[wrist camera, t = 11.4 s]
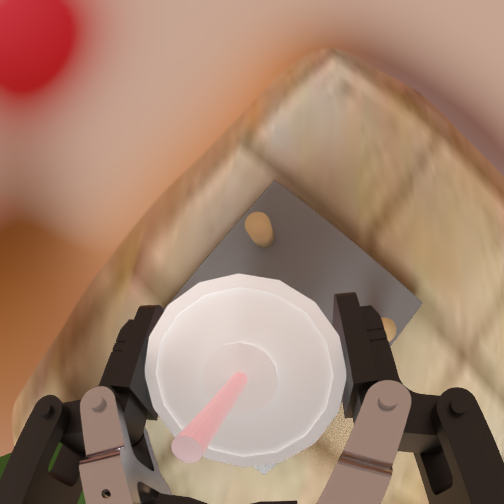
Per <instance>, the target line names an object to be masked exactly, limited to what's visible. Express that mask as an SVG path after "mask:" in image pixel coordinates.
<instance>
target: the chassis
mask: <svg viewBox="0 0 504 504" xmlns="http://www.w3.org/2000/svg"><path fill="white" fill-rule="evenodd" d="M238 273H239V274H245V275H251V276H257V277H263V278H269V279H275V280H280V281H282V282H283V283H285V284H287V285H288V286H290V287H291V288H293V289H295V290H296V291H298V292H300V293H301V294H303V295H304V296H306V297H308V298H309V299H311V300H313V301H314V302H315V303H316V304H317V305H318V307H319V308H320V310H321V311H322V312H323V314H324V315H325V317H326V318H327V319H328V321H329V322H330V324H331V325H332V321H333V303H334V294H338V293H348V292H356V294H357V297H358V301H359V304H360V306H368V305H371V306H372V307H373V308H374V309H375V310H376V311H377V312H378V313H379V314H380V316H381V319H382V322H383V325H384V330H385V332H386V335H387V340H388V341H389V345H390V346H391V345H392V343H393V342H394V341H395V340H396V338H397V337H398V336H399V334H400V333H401V332H402V330H403V329H404V328H405V326H406V325H407V324H408V322H409V321H410V320H411V318H412V317H413V316H414V314H415V313H416V311H417V310H418V309H419V307H420V306H421V304H422V302H421V301H420V300H419V299H418V298H417V297H416V296H415V295H414V294H413V293H411V292H410V291H409V290H408V289H407V288H406V287H405V286H404V285H403V284H401V283H400V282H399V281H398V280H397V279H396V278H395V277H394V276H392V275H391V274H390V273H389V272H388V271H387V270H386V269H384V268H383V267H382V266H381V265H380V264H379V263H378V262H376V261H375V260H374V259H373V258H372V257H371V256H369V255H368V254H367V253H366V252H365V251H363V250H362V249H361V248H360V247H359V246H357V245H356V244H355V243H354V242H353V241H351V240H350V239H349V238H348V237H347V236H345V235H344V234H343V233H342V232H341V231H339V230H338V229H337V228H336V227H334V226H333V225H332V224H331V223H329V222H328V221H327V220H326V219H324V218H323V217H322V216H321V215H319V214H318V213H317V212H316V211H314V210H313V209H312V208H311V207H309V206H308V205H307V204H305V203H304V202H303V201H302V200H300V199H299V198H298V197H296V196H295V195H294V194H293V193H291V192H290V191H289V190H287V189H286V188H285V187H283V186H282V185H281V184H279V183H278V182H277V181H275V180H274V181H273V182H272V184H271V185H270V186H269V187H268V188H267V189H266V190H265V191H264V193H263V194H262V195H261V196H260V197H259V198H258V199H257V200H256V202H255V203H254V204H253V205H252V206H251V207H250V208H249V210H248V211H247V212H246V213H245V214H244V215H243V216H242V218H241V219H240V220H239V221H238V222H237V223H236V224H235V226H234V227H233V228H232V229H231V230H230V231H229V233H228V234H227V235H226V236H225V237H224V238H223V240H222V241H221V242H220V243H219V244H218V245H217V247H216V248H215V249H214V250H213V251H212V252H211V254H210V255H209V256H208V257H207V258H206V259H205V261H204V262H203V263H202V264H201V265H200V266H199V268H198V269H197V270H196V271H195V272H194V274H193V275H192V276H191V277H190V278H189V279H188V281H187V282H186V283H185V284H184V285H183V287H182V288H181V289H180V290H179V291H178V293H177V294H176V295H175V296H174V297H173V299H172V300H171V301H170V302H169V303H168V305H169V304H170V303H171V302H173V301H174V300H176V299H177V298H178V297H180V296H181V295H183V294H184V293H185V292H187V291H188V290H189V289H191V288H192V287H194V286H195V285H196V284H198V283H199V282H203V281H208V280H212V279H216V278H221V277H225V276H229V275H234V274H238ZM168 305H167V306H168ZM167 306H166V307H165V308H164V311H165V309H166V308H167ZM342 401H343V400H342V399H341V402H342ZM276 464H277V463H272V464H265V465H258V466H253V467H254V468H256V469H257V470H258V471H260V472H261V473H263V474H265V473H267V472H268V471H269V470H270V469H272V468H273V467H274V466H275V465H276Z"/></svg>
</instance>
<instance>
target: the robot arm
mask: <svg viewBox="0 0 504 504" xmlns="http://www.w3.org/2000/svg"><path fill="white" fill-rule="evenodd" d="M163 313H164V310H163V308H162V307H161V306H160V305H147V306H140V307H139V309H138V311H137V313H136V316H135V318H134V320H128V322H127V323H126V324H125V325H124V326H123V327H122V329H121V330H120V332H119V335H118V337H117V340H116V343H115V345H114V347H113V352H111V355H110V357H109V360H108V363H107V365H106V368H105V371H104V373H103V376H102V379H101V381H100V384H99V386H98V387H94V388H92V389H90V390H89V391H87V392H86V393H85V395H84V396H83V398H82V400H77V401H72V402H66V403H63V402H62V401H61V400H60V399H59V398H57V397H56V396H54V395H47V396H44V397H42V398H41V399H40V400H39V401H38V402H37V403H36V405H35V407H34V409H33V410H32V412H31V414H30V416H29V418H28V420H27V422H26V424H25V426H24V428H23V430H22V432H21V434H20V436H19V438H18V441H17V443H16V445H15V447H14V449H13V451H12V454H11V456H10V458H9V460H8V462H7V465H6V467H5V469H4V472H3V474H2V476H1V479H0V504H77V503H78V501H79V498H80V495H81V492H82V490H83V492H84V497H85V501H86V504H207V503H204V502H201V501H199V500H196V499H193V498H190V497H182V496H175V495H172V493H171V490H170V488H169V486H168V484H167V483H166V481H165V480H164V478H163V477H162V475H161V473H160V471H159V468H158V465H157V462H156V459H155V456H154V453H153V449H152V446H151V443H150V439H149V436H148V432H147V430H146V428H145V423H146V419H148V420H157V417H158V414H157V413H156V411H155V410H154V408H153V405H152V401H151V398H150V394H149V390H148V386H147V382H146V378H145V362H146V355H147V348H148V341H149V336H150V334H151V333H152V331H153V329H154V328H155V326H156V324H157V323H158V321H159V319H160V318H161V316H162V314H163ZM332 326H333V328H334V329H335V331H336V332H337V333H338V335H339V337H340V342H341V347H342V352H343V357H344V362H345V367H346V382H345V387H344V391H343V395H342V400H343V407H344V415H345V418H352V417H353V422H354V427H353V429H352V431H351V434H350V436H349V439H348V441H347V443H346V445H345V448H344V450H343V452H342V454H341V456H340V458H339V460H338V462H337V464H336V466H335V468H334V470H333V472H332V474H331V477H330V479H329V481H328V483H327V485H326V487H325V489H324V491H323V492H322V494H321V496H320V498H319V500H318V502H317V504H381V502H382V500H383V497H384V495H385V492H386V490H387V487H388V485H389V482H390V479H391V476H392V471H393V469H392V465H393V462H394V459H395V456H396V453H397V451H403V452H413V453H414V456H415V459H416V462H417V465H418V468H419V471H420V474H421V477H422V481H423V484H424V487H425V490H426V494H427V497H428V500H429V504H504V463H503V460H502V457H501V455H500V452H499V450H498V448H497V445H496V443H495V440H494V438H493V436H492V433H491V431H490V429H489V427H488V424H487V422H486V420H485V418H484V416H483V413H482V411H481V409H480V407H479V405H478V403H477V401H476V399H475V397H474V396H473V394H472V393H470V392H469V391H468V390H466V389H463V388H458V387H455V388H450V389H448V390H446V391H445V392H443V394H442V395H441V396H436V395H425V394H418V393H415V392H413V391H411V390H409V389H408V388H406V387H405V386H404V385H403V384H402V382H401V381H400V379H399V376H398V373H397V369H396V365H395V362H394V358H393V355H392V351H391V348H390V345H389V341H388V340H387V335H386V332H385V330H384V325H383V322H382V319H381V316H380V314H379V313H378V312H377V311H376V310H375V309H374V308H373V307H372V306H371V305H368V306H360V304H359V301H358V297H357V294H356V292H348V293H338V294H334V303H333V321H332ZM59 442H60V443H61V444H62V446H61V449H60V451H59V453H58V456H57V458H56V460H55V463H54V465H53V467H52V469H51V471H50V472H48V467H49V464H50V462H51V459H52V457H53V455H54V453H55V450H56V448H57V446H58V444H59ZM252 504H297V501H275V502H257V503H252Z"/></svg>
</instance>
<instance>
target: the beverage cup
mask: <svg viewBox="0 0 504 504" xmlns="http://www.w3.org/2000/svg"><path fill="white" fill-rule="evenodd" d="M145 378H146V382H147V386H148V390H149V394H150V398H151V401H152V405H153V408H154V410H155V411H156V413H157V414H158V415H159V417H160V418H161V420H162V421H163V422H164V424H165V425H166V426H167V428H168V429H169V431H170V432H171V433H172V435H173V436H174V437H175V439H174V440H173V442H172V445H171V448H172V451H173V454H174V455H175V456H176V457H177V458H178V459H180V460H181V461H183V462H187V463H194V462H196V461H199V459H200V458H201V457H202V456H203V457H205V458H206V459H210V460H214V461H218V462H222V463H226V464H231V465H235V466H240V467H250V466H258V465H265V464H272V463H279V462H283V461H284V460H286V459H288V458H290V457H292V456H294V455H295V454H297V453H299V452H301V451H302V450H304V449H306V448H308V447H309V446H311V445H313V444H314V443H315V442H316V441H317V440H318V439H319V437H320V436H321V435H322V434H323V432H324V431H325V430H326V428H327V427H328V426H329V424H330V423H331V422H332V420H333V419H334V418H335V416H336V415H337V414H338V412H339V408H340V404H341V399H342V395H343V391H344V387H345V382H346V367H345V362H344V357H343V352H342V347H341V342H340V337H339V335H338V333H337V332H336V331H335V329H334V328H333V326H332V325H331V324H330V322H329V321H328V319H327V318H326V317H325V315H324V314H323V312H322V311H321V310H320V308H319V307H318V305H317V304H316V303H315V302H314V301H313V300H311V299H309V298H308V297H306V296H304V295H303V294H301V293H300V292H298V291H296V290H295V289H293V288H291V287H290V286H288V285H287V284H285V283H283V282H282V281H280V280H275V279H269V278H263V277H257V276H251V275H245V274H239V273H238V274H234V275H229V276H225V277H221V278H216V279H212V280H208V281H203V282H199V283H198V284H196V285H195V286H194V287H192V288H191V289H189V290H188V291H187V292H185V293H184V294H183V295H181V296H180V297H178V298H177V299H176V300H174V301H173V302H171V303H170V304H169V305H168V306H167V308H166V309H165V311H164V313H163V314H162V316H161V318H160V319H159V321H158V323H157V324H156V326H155V328H154V329H153V331H152V333H151V334H150V336H149V341H148V348H147V355H146V362H145Z"/></svg>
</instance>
